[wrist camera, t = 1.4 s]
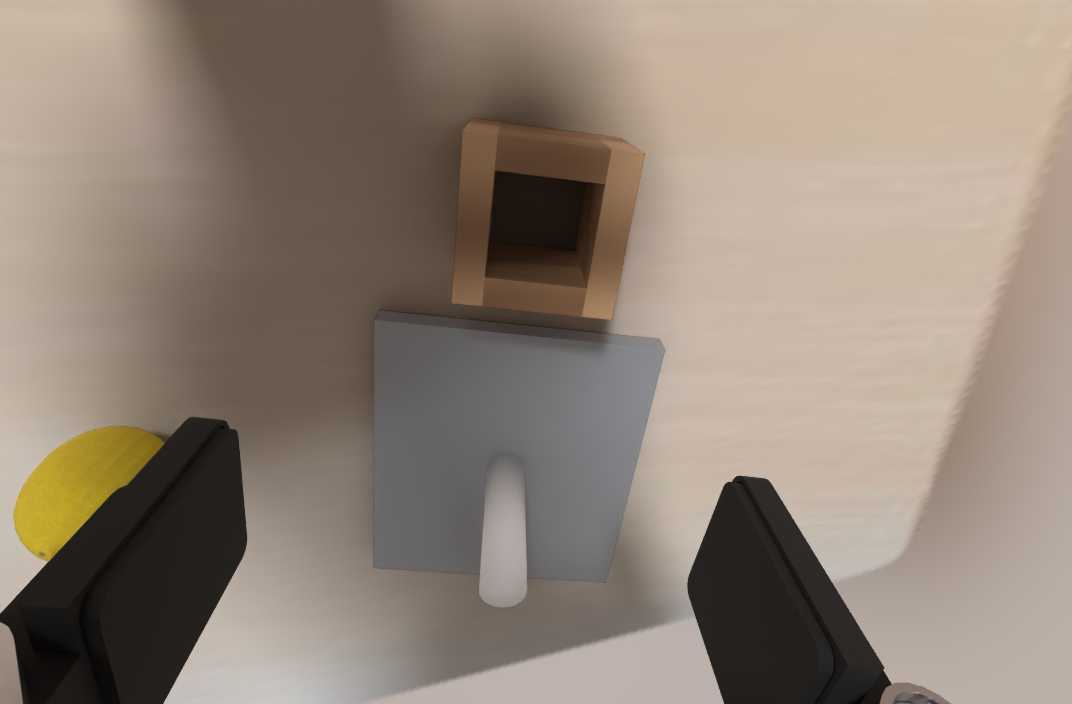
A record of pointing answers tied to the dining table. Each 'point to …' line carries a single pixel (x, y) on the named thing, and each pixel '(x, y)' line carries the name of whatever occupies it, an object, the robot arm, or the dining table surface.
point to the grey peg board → (505, 448)
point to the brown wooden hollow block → (535, 272)
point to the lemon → (78, 484)
